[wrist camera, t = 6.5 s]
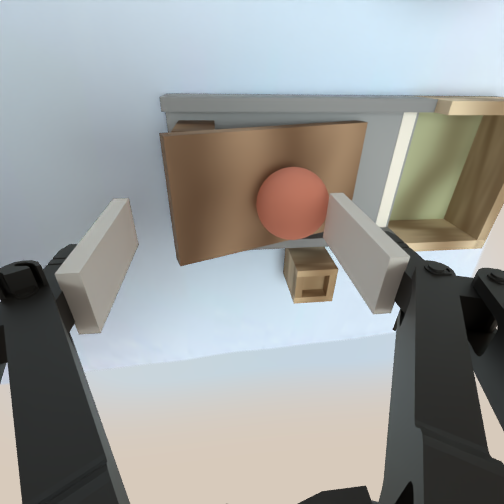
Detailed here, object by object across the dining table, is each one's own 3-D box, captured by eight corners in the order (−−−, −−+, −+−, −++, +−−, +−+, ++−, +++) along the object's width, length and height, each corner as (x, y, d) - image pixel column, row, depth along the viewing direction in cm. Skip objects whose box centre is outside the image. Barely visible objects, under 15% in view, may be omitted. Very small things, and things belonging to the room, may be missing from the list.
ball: (268, 257, 17) (336, 247, 18) (272, 182, 15) (350, 176, 16) (247, 225, 21) (305, 218, 22) (248, 160, 18) (312, 156, 19)
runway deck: (183, 234, 26) (180, 252, 24) (166, 93, 20) (159, 96, 18) (377, 227, 28) (394, 243, 25) (411, 95, 22) (438, 99, 20)
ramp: (182, 226, 24) (175, 266, 19) (170, 120, 20) (156, 136, 15) (342, 221, 26) (373, 256, 21) (361, 120, 21) (405, 135, 17)
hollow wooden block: (283, 272, 30) (293, 303, 26) (285, 243, 28) (297, 271, 24) (316, 270, 30) (331, 301, 26) (321, 241, 28) (338, 269, 24)
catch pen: (377, 227, 28) (403, 252, 24) (411, 95, 22) (452, 100, 18) (446, 224, 29) (481, 248, 25) (496, 96, 23) (552, 101, 19)
